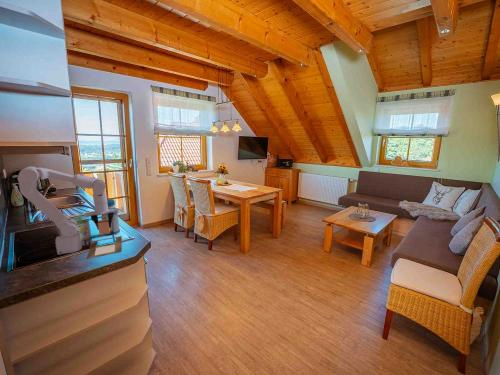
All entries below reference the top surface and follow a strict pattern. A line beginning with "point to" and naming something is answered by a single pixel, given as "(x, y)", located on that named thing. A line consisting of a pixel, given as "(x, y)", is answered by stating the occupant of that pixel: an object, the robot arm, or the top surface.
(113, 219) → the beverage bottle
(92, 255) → the walnut pocket board
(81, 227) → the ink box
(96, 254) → the cream square
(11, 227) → the top surface
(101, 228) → the terracotta block
